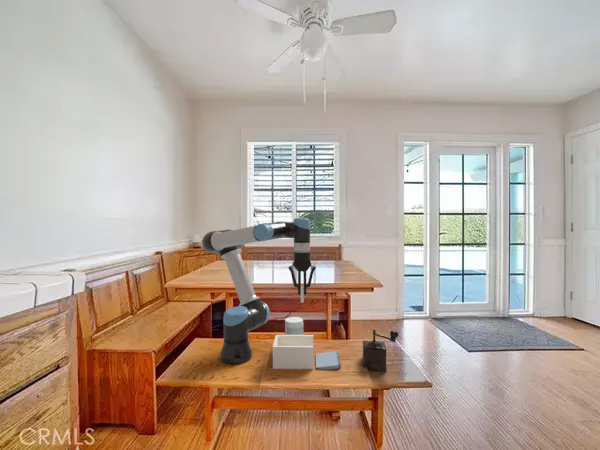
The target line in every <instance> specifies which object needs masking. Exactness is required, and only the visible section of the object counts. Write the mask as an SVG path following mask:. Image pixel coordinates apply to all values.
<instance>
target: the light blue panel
mask: <svg viewBox="0 0 600 450" xmlns="http://www.w3.org/2000/svg"><path fill="white" fill-rule="evenodd" d="M339 355H340V354H339V351H334V350H333V351H326V352H317V353H315V369H316V370H337V369H340V368H341V367H342V366H341V359H340V356H339Z"/></svg>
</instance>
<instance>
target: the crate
mask: <svg viewBox="0 0 600 450" xmlns="http://www.w3.org/2000/svg"><path fill="white" fill-rule="evenodd" d="M314 351H315V349H314V334H304V335H285V334H275V336H274V340H273V344H272V369H274V370H277V369H279V370H280V369H281V370H314V369H315V367H314V365H315V364H314V363H315V362H314V361H315V360H314V353H315V352H314Z"/></svg>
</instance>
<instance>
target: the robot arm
mask: <svg viewBox="0 0 600 450" xmlns="http://www.w3.org/2000/svg"><path fill="white" fill-rule="evenodd" d="M285 238H286V239H293V251H294V252H293V263H292V264H291V265H288V270H289V272H290V275H291V279H292V283H293V286H294V287H295V288H297V295H298V296H300V303H304V302H305V296H306V295H307V288H310V287H311V285H312V284H311V283H312V279H313V275H314V272H315V270H316V269H317V267H316V265H313V264H312V262H311V222H310V219H309V218H308V217H297V218H296V217H295V218H294V219H293V221H291V222H289V221H275V222H263V223H258V224H256V225H252V226H247V227H242V228H237V229H223V230H212V231H209V232H207V233H205V235H204V236H203V237H202V241H201V245H202V247H203V250H204V251H206V252H207V253H209V254H219V256H220V258H221V259H223V260H224V261H225V264H226V267H227V269H228V272H229V275H230V279H231V280H232V283H233V285H234V288H235V291H236V294H237V296H238V300H239V302H240V303H239V305H238V306H232V307H230V308H228V309H226V310H225V311H224V312H223V320H222V322H223V345H222V348H221V351H220V355H219V356H220V358H221V359H220V361H221V360H222V361H223V362H222V361H221V362H222V363H224V362H225V363H224V364H229V365H238V364H242V363H246V362H248V361H250V360H251V359H252V357H253V349H252V348H251V344H250V341H249V332H251V331H252V330H255V329H257V328H259V327H261V326H264V324H266V323H267V322H268V320H269V319H270V307H269V306H268V304H267V303H265V302H264V301H262V300H261V298H260V297H259V296H257V295H256V292H255V290H254V287H253V285H252V282H251V279H250V277H249V274H248V270H247V268H246V265H245V263H244V261H243V259H242V256H241V252H242V250H243V249H242V246H243V245H246V244H252V243H253V244H254V243H259V242H265V241H270V240H277V239H279V240H280V239H285ZM309 268H310V273H309V277H308V281H307V272H308V270H309ZM294 269H295V270H296V272H297V278H296V275H295V271H294ZM302 272H303V286H301V285H302V282H301V281H302V278H301V277H302ZM296 279H297V280H296Z"/></svg>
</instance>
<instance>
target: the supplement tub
mask: <svg viewBox="0 0 600 450" xmlns="http://www.w3.org/2000/svg"><path fill="white" fill-rule="evenodd" d="M304 329H305V328H304V320H303V318H302V317H299V316H291V317H287V318H285V319H284V331H285V332H284V335H305V333H304Z"/></svg>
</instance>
